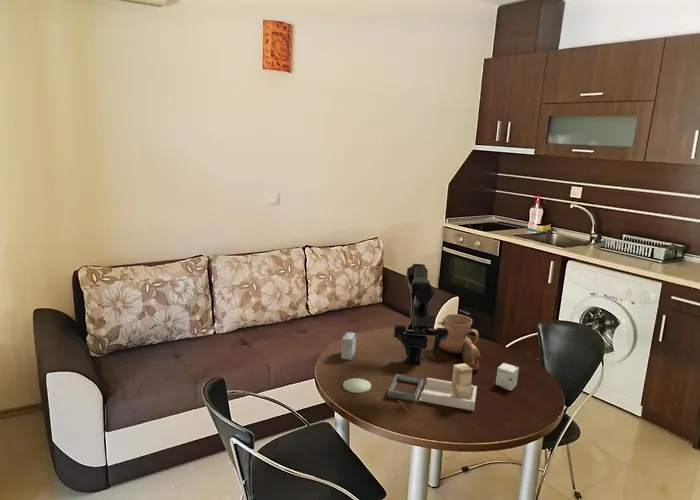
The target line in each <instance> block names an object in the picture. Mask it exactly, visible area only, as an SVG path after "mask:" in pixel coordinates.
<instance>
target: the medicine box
mask: <svg viewBox="0 0 700 500" xmlns="http://www.w3.org/2000/svg"><path fill="white" fill-rule="evenodd" d="M356 334H357V333H356V332H349V331H346V332H345V333H344V335H343V336H342V338H341V349H340V350H341V352H340V355H341V356H340V357H341V359H342V360H350V361H352V360H353V359H354V355H355V353H356V346H357V345H356V341H357V335H356Z"/></svg>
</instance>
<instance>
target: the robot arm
mask: <svg viewBox="0 0 700 500" xmlns="http://www.w3.org/2000/svg"><path fill="white" fill-rule="evenodd" d="M428 270H429V269H427V268H426V265H425V264H424V263H413V264H412V265H411V266H410V267H407V270H406V281H407V285H408V288H409V289H410V291H409V292H410V323H409V324H408V327H406V325H398V324H396V325H394V328H393V338H396V340H397V341H400V343H401V345H402V347H403V349H404V353H405V359H404V364H410V365H411V364H412V365H416V366H421V364H422V362H423V360H424V358H423V357H422V350H426V348H428V342H429V338H428V337H435V338H434V341H433V351H432V357H433V359H435V358H436V354H437V351H438V348H439V343H440V342H443V341H444V340H447V338H448V336H449V335H448V329H447V328H444V327H436V330H431V325H436V315H435V314H434V315H433V314H430V305H431V301H432V299H433V296H434V295H435V291H434V290H435V289H434V288H433V286H432V284H431V282H430V280H429V279H428V274H429V273H428ZM427 336H428V337H427Z"/></svg>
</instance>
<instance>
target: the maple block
mask: <svg viewBox="0 0 700 500" xmlns="http://www.w3.org/2000/svg"><path fill="white" fill-rule="evenodd" d="M452 370H453V371H452V379H451V382H452V390H451V397H456V398H461V399H467V400H470V390H471V385H472V381H473V380H472V379H473V377H472V376H473V370H472V368H471V367H469V366H468V365H467V364H465V362H463V363H458V364H453V369H452Z"/></svg>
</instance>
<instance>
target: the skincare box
mask: <svg viewBox="0 0 700 500" xmlns="http://www.w3.org/2000/svg"><path fill="white" fill-rule="evenodd" d="M496 371H497V372H496V378H495V385H496V386H499V387H501V388H503V389H504V390H506V391H507V390H508V391H509V390H510V392H511V391H513V390H514V388H515V387H517V385H518V379H519V378H518V377H519V371H520V367H519V366H515V365H512V364H509V363H506V362H503V363H501V365H499V366H498V367H497V368H496Z"/></svg>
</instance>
